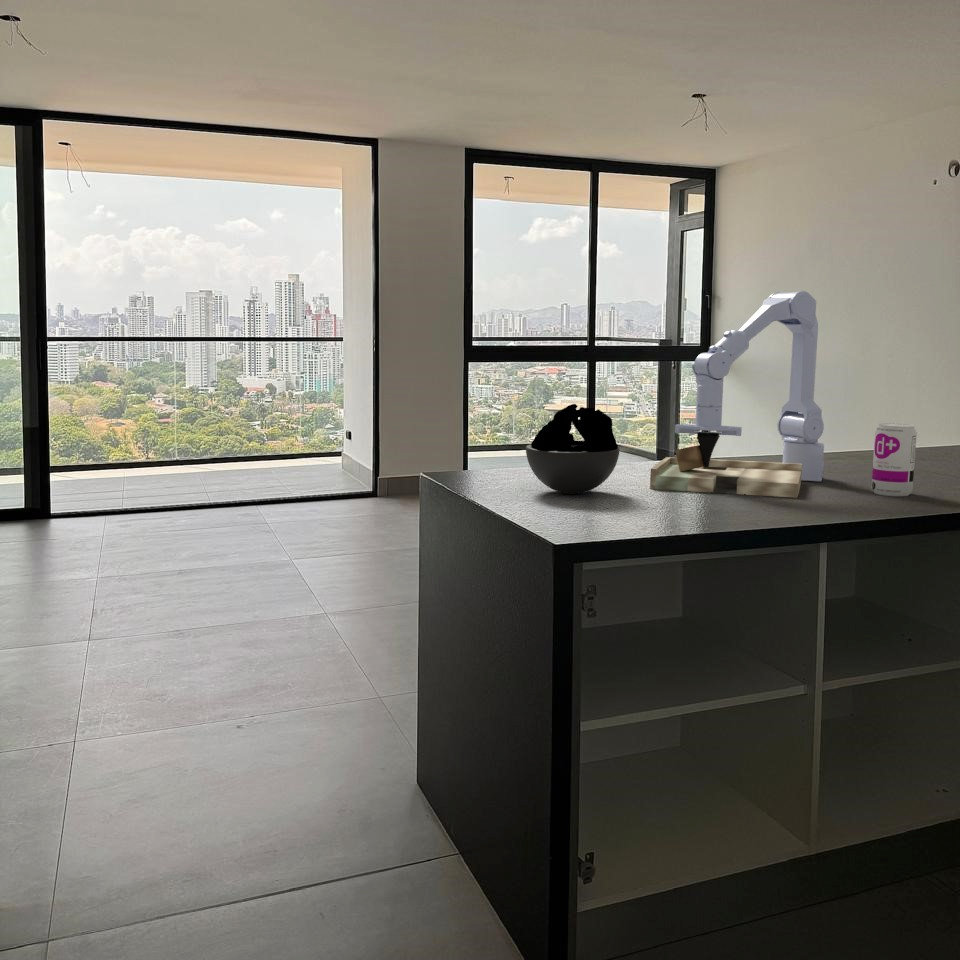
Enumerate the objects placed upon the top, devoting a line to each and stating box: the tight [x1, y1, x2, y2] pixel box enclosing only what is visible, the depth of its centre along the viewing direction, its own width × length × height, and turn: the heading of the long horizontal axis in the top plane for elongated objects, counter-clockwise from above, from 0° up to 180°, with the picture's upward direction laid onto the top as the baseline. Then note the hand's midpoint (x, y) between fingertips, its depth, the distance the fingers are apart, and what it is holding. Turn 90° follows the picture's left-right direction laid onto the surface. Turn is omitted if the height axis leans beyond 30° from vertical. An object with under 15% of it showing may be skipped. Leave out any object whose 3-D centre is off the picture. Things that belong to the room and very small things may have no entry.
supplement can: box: [870, 422, 918, 497], centre depth 212 cm, size 8×8×15 cm
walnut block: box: [675, 444, 705, 471], centre depth 224 cm, size 5×5×5 cm
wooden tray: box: [649, 456, 802, 499], centre depth 222 cm, size 31×21×4 cm
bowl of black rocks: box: [525, 403, 621, 495], centre depth 210 cm, size 20×20×19 cm
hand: (706, 466), depth 223 cm, fingers closed, pressing on walnut block
